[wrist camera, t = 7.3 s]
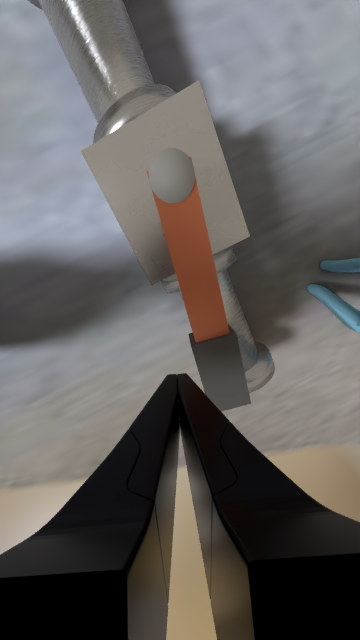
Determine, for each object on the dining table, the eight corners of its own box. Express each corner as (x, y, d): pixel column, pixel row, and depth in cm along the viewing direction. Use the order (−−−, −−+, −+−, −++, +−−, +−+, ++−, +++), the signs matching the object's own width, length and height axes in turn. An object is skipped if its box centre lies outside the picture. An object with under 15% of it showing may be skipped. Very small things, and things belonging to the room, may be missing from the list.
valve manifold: (204, 366, 23) (218, 411, 16) (24, 10, 13) (-122, -233, 7) (259, 342, 22) (296, 379, 16) (111, -53, 13) (44, -396, 6)
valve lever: (144, 182, 11) (134, 156, 8) (189, 167, 11) (195, 135, 8) (204, 383, 15) (211, 413, 12) (236, 375, 15) (251, 403, 12)
